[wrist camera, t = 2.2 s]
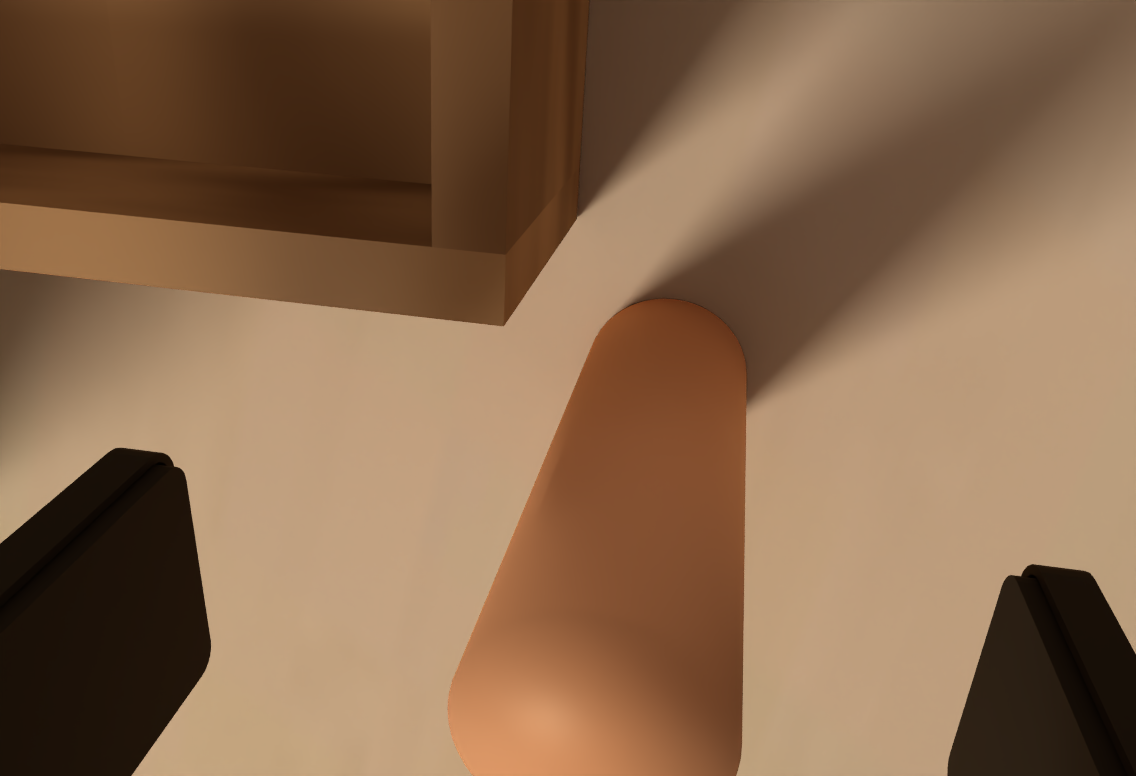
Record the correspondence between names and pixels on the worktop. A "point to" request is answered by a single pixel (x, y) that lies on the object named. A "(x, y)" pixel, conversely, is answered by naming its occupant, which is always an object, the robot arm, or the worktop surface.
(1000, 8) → the worktop surface
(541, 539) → the peg
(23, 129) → the bore box
